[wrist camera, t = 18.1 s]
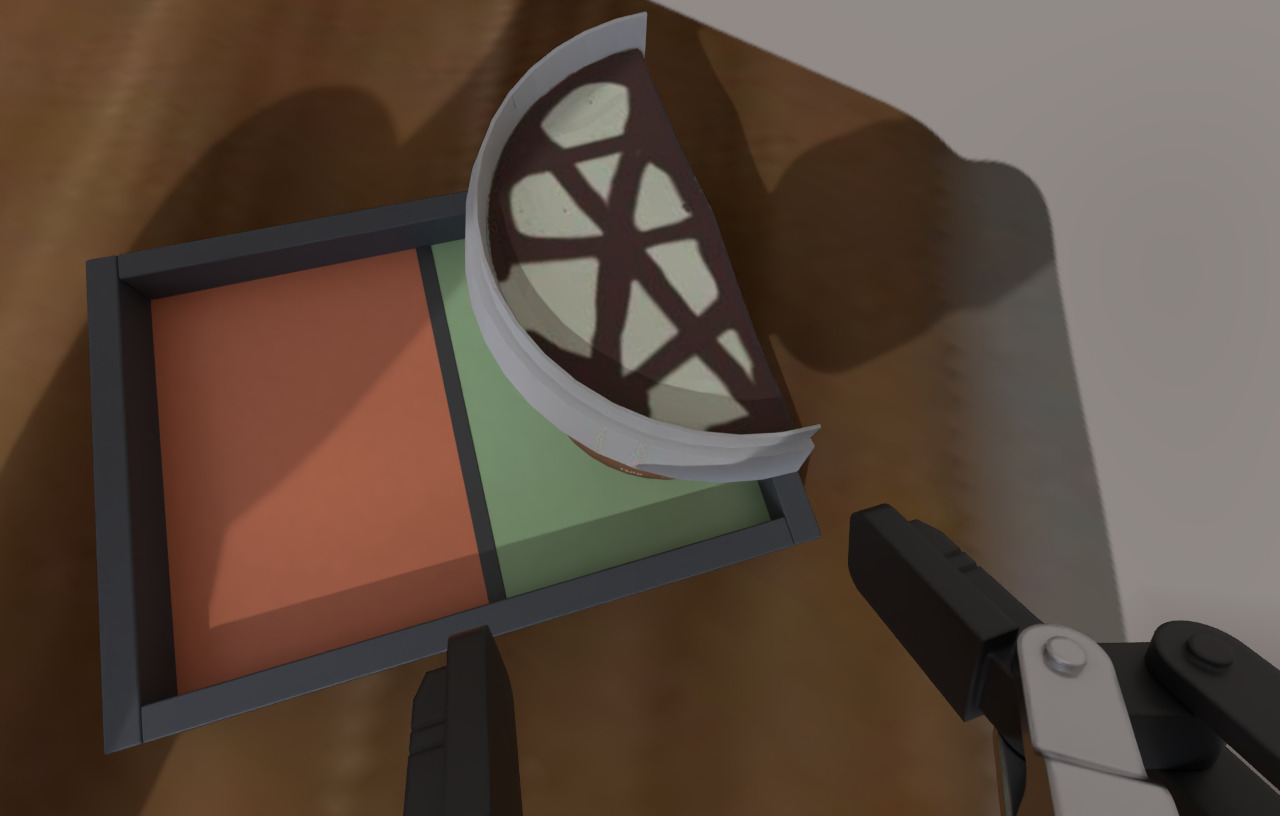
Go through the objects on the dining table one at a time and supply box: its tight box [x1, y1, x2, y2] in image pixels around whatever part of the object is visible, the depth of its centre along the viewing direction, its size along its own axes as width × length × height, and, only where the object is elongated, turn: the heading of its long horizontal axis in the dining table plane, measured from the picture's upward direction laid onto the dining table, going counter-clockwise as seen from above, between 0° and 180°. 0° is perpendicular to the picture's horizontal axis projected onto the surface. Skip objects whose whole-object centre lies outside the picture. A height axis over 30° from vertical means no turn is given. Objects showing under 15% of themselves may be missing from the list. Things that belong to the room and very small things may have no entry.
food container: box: [465, 12, 821, 483], centre depth 17 cm, size 12×6×10 cm, turn 18°
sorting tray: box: [86, 191, 821, 754], centre depth 21 cm, size 22×16×3 cm
